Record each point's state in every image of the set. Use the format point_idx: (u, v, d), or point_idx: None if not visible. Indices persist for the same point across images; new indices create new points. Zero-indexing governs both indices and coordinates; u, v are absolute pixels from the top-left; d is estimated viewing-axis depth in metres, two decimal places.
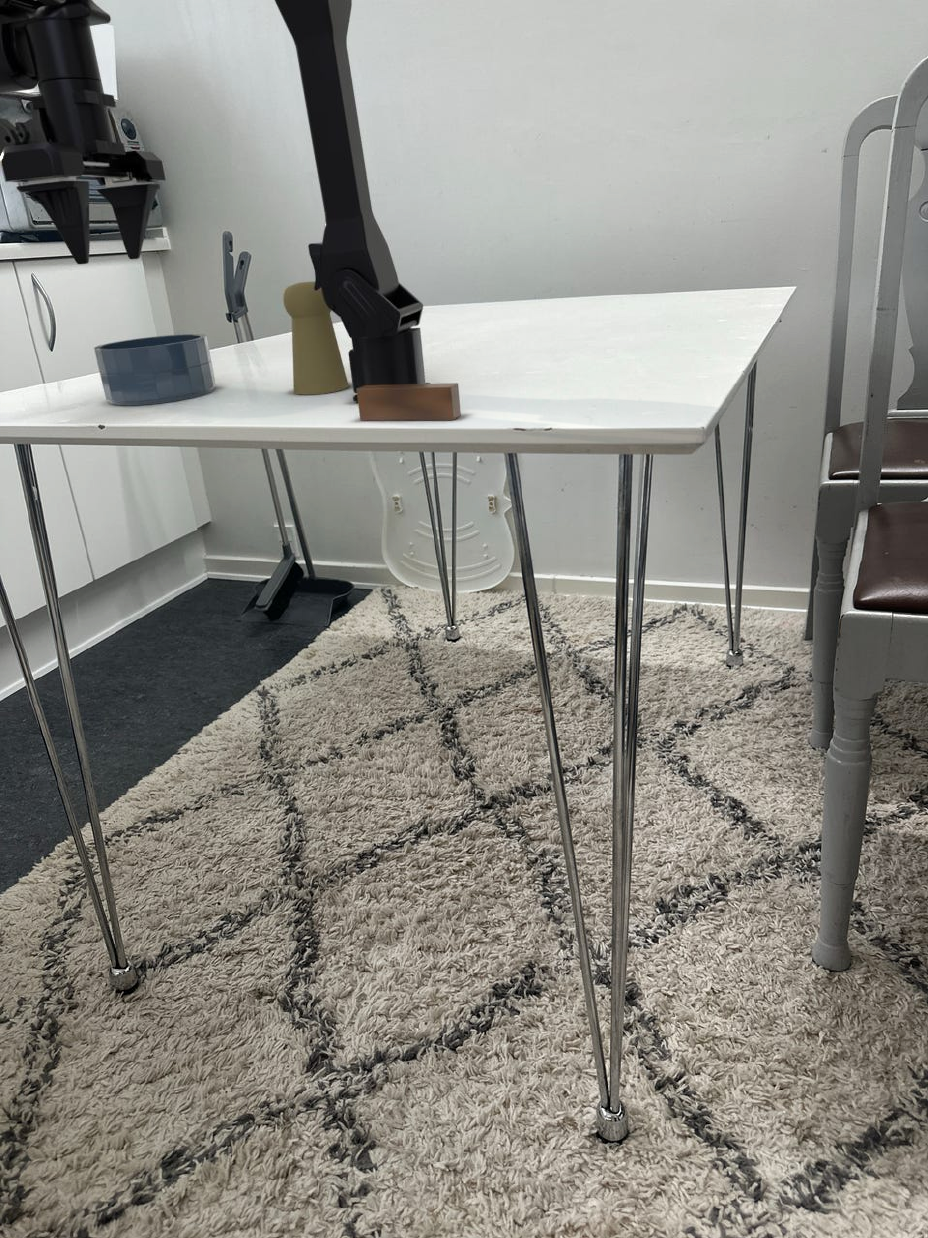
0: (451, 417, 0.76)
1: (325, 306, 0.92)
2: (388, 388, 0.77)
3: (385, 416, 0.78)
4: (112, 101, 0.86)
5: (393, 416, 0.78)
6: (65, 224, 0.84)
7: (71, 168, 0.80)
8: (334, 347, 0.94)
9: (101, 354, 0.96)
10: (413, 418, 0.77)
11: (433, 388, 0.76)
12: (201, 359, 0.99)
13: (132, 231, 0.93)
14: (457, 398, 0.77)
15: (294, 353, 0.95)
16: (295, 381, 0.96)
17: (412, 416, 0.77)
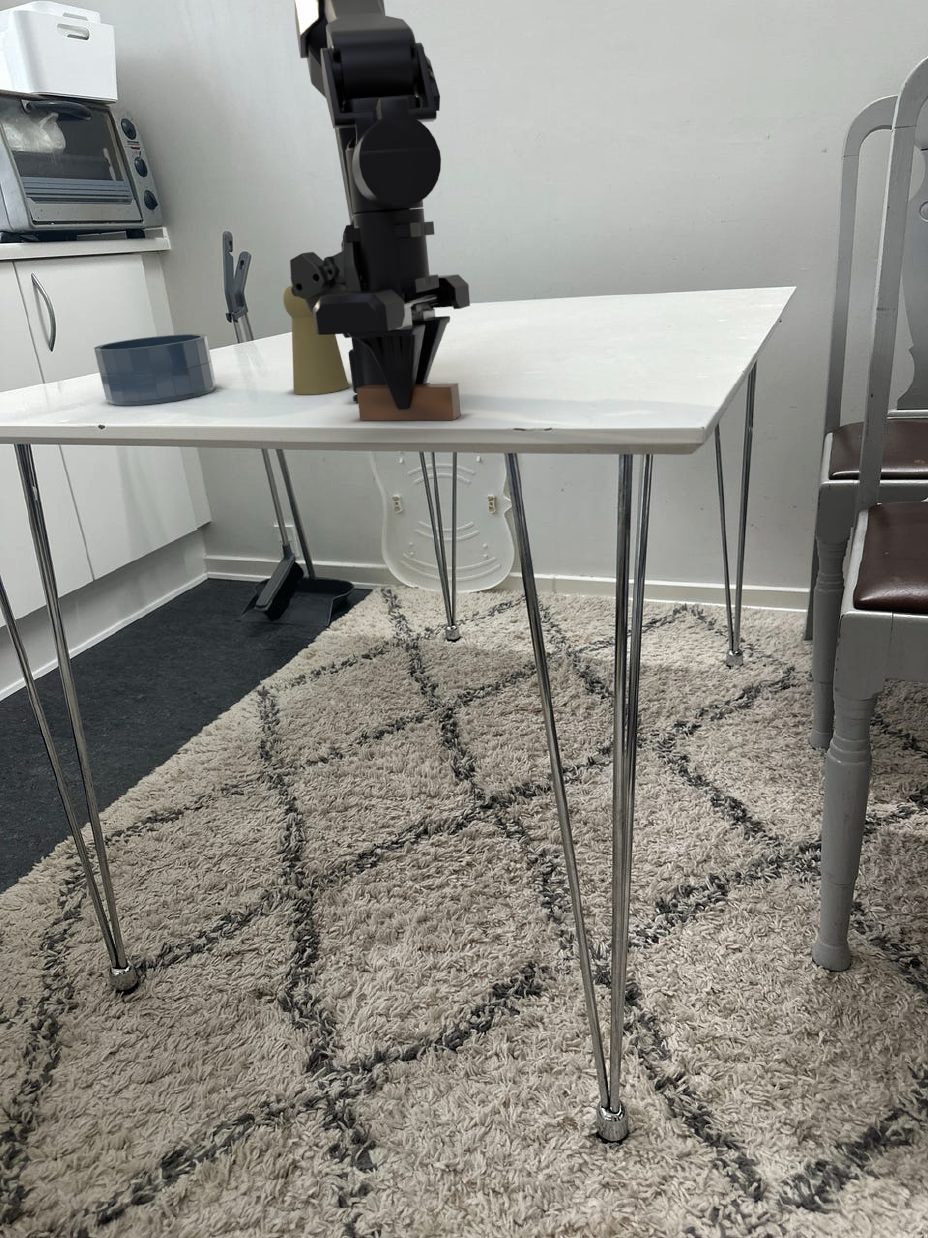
0: (451, 417, 0.76)
1: None
2: (388, 388, 0.77)
3: (385, 416, 0.78)
4: (432, 228, 0.73)
5: (393, 416, 0.78)
6: (392, 369, 0.75)
7: (394, 321, 0.67)
8: (334, 347, 0.94)
9: (101, 354, 0.96)
10: (413, 418, 0.77)
11: (433, 388, 0.76)
12: (201, 359, 0.99)
13: None
14: (457, 398, 0.77)
15: (294, 353, 0.95)
16: (295, 381, 0.96)
17: (412, 416, 0.77)
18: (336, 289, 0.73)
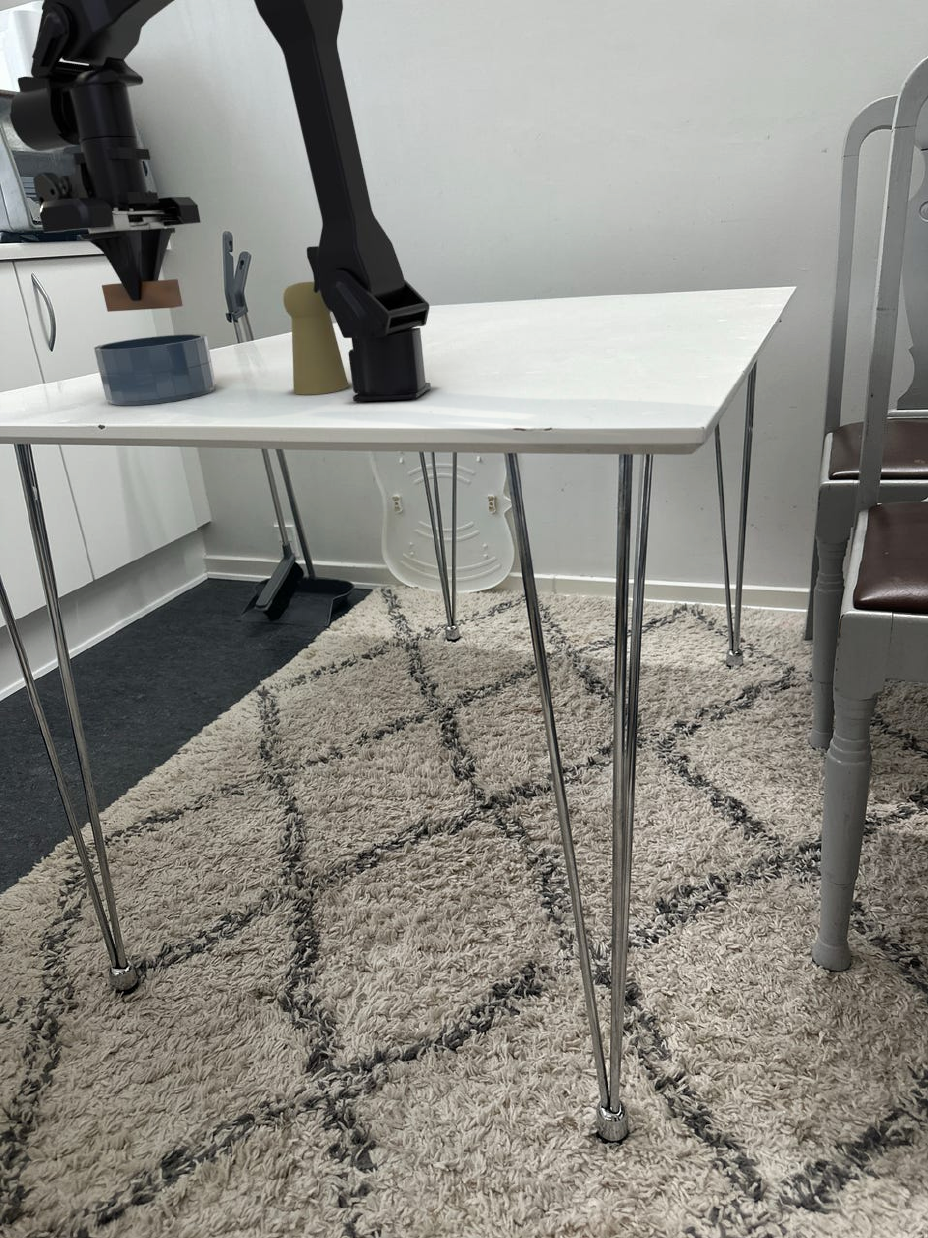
0: (171, 305, 0.96)
1: (325, 306, 0.92)
2: None
3: (124, 307, 0.99)
4: (146, 154, 0.93)
5: (130, 306, 0.98)
6: (121, 266, 0.95)
7: (99, 220, 0.88)
8: (334, 347, 0.94)
9: (101, 354, 0.96)
10: (144, 307, 0.98)
11: (155, 282, 0.96)
12: (201, 359, 0.99)
13: (147, 273, 0.98)
14: (177, 291, 0.97)
15: (294, 353, 0.95)
16: (295, 381, 0.96)
17: (143, 306, 0.98)
18: None
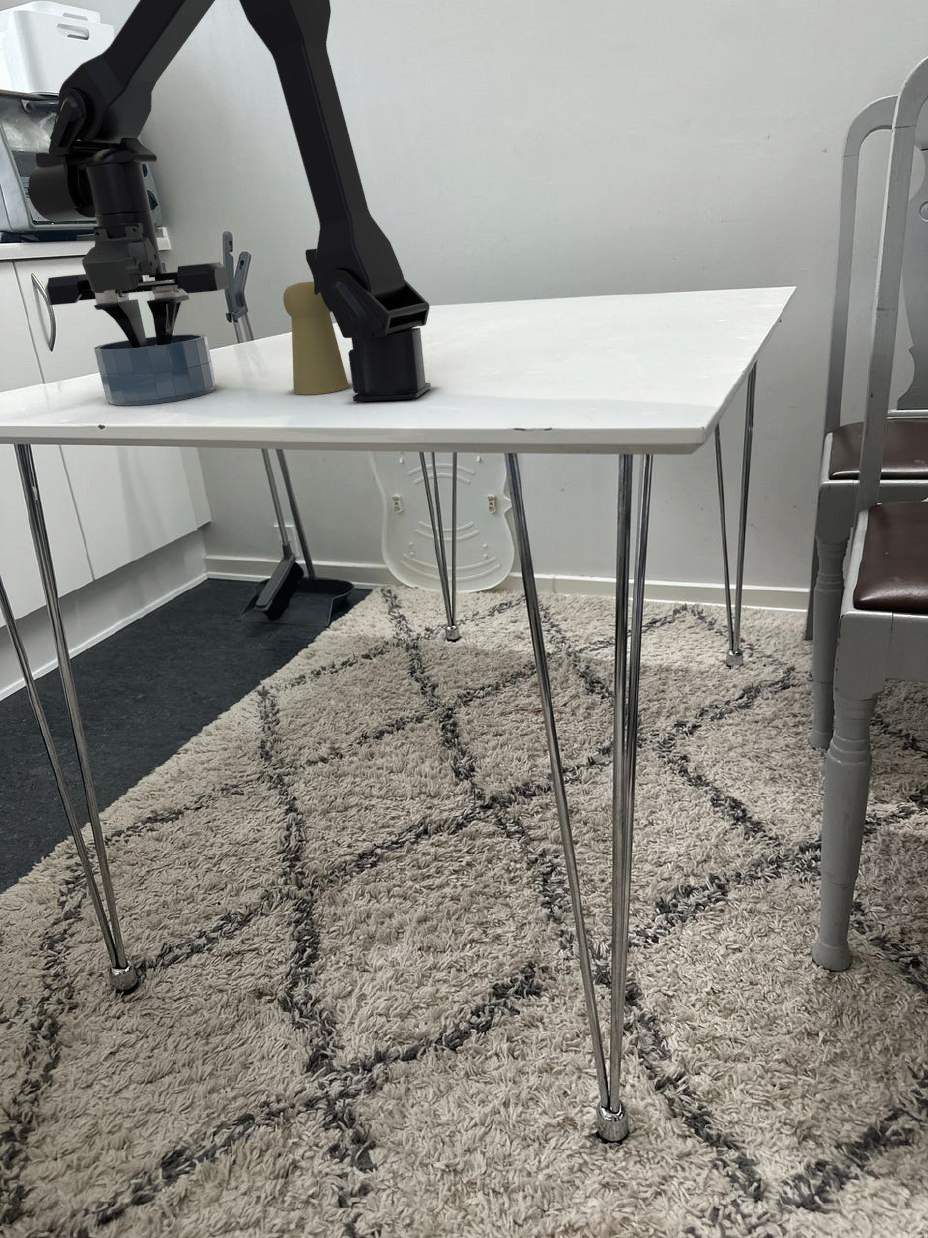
0: None
1: (325, 306, 0.92)
2: None
3: None
4: None
5: None
6: (168, 330, 1.00)
7: None
8: (334, 347, 0.94)
9: (101, 354, 0.96)
10: None
11: None
12: (201, 359, 0.99)
13: (143, 340, 1.01)
14: None
15: (294, 353, 0.95)
16: (295, 381, 0.96)
17: None
18: None
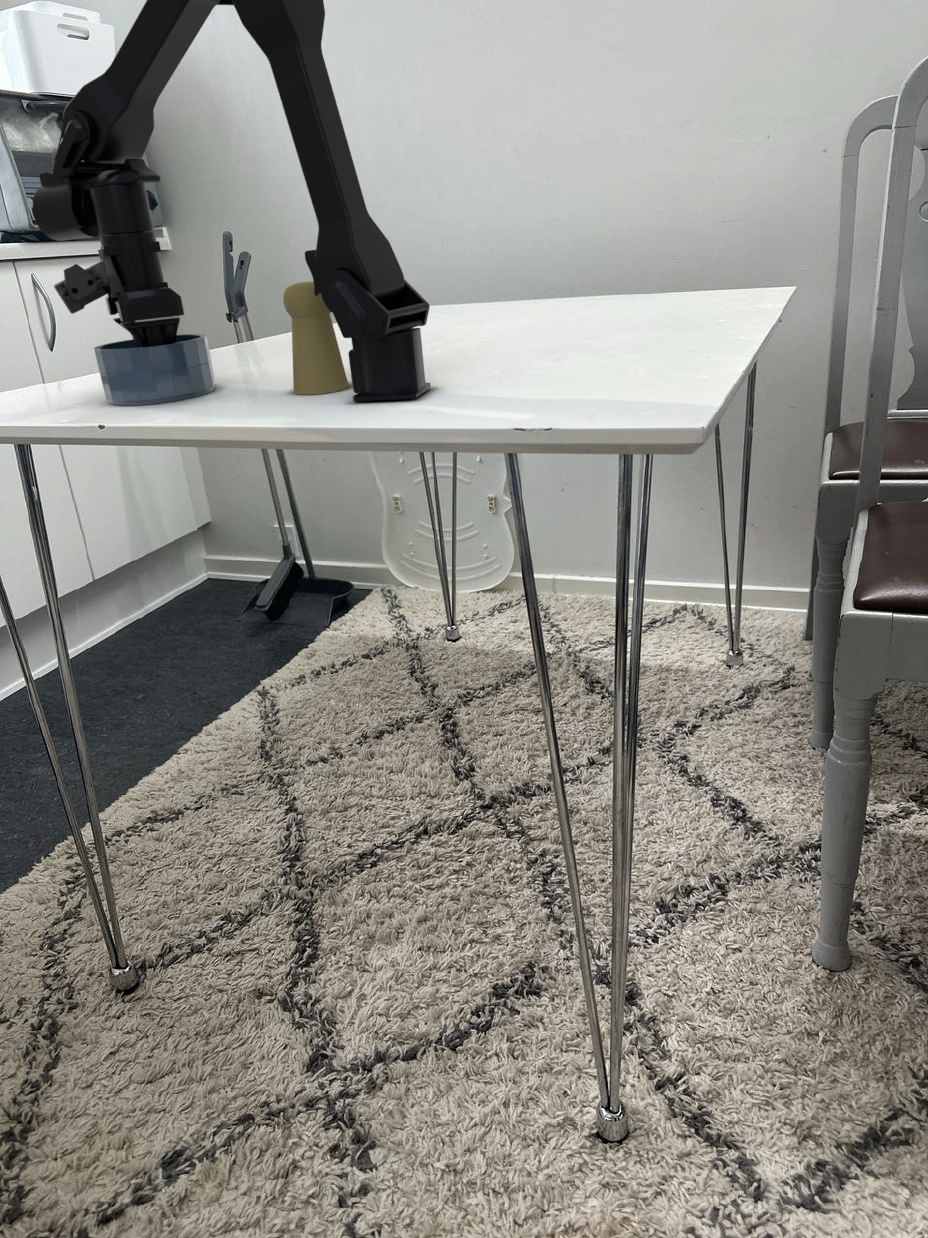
0: None
1: (325, 306, 0.92)
2: None
3: None
4: None
5: None
6: None
7: None
8: (334, 347, 0.94)
9: (101, 354, 0.96)
10: None
11: None
12: (201, 359, 0.99)
13: None
14: None
15: (294, 353, 0.95)
16: (295, 381, 0.96)
17: None
18: (99, 292, 0.95)
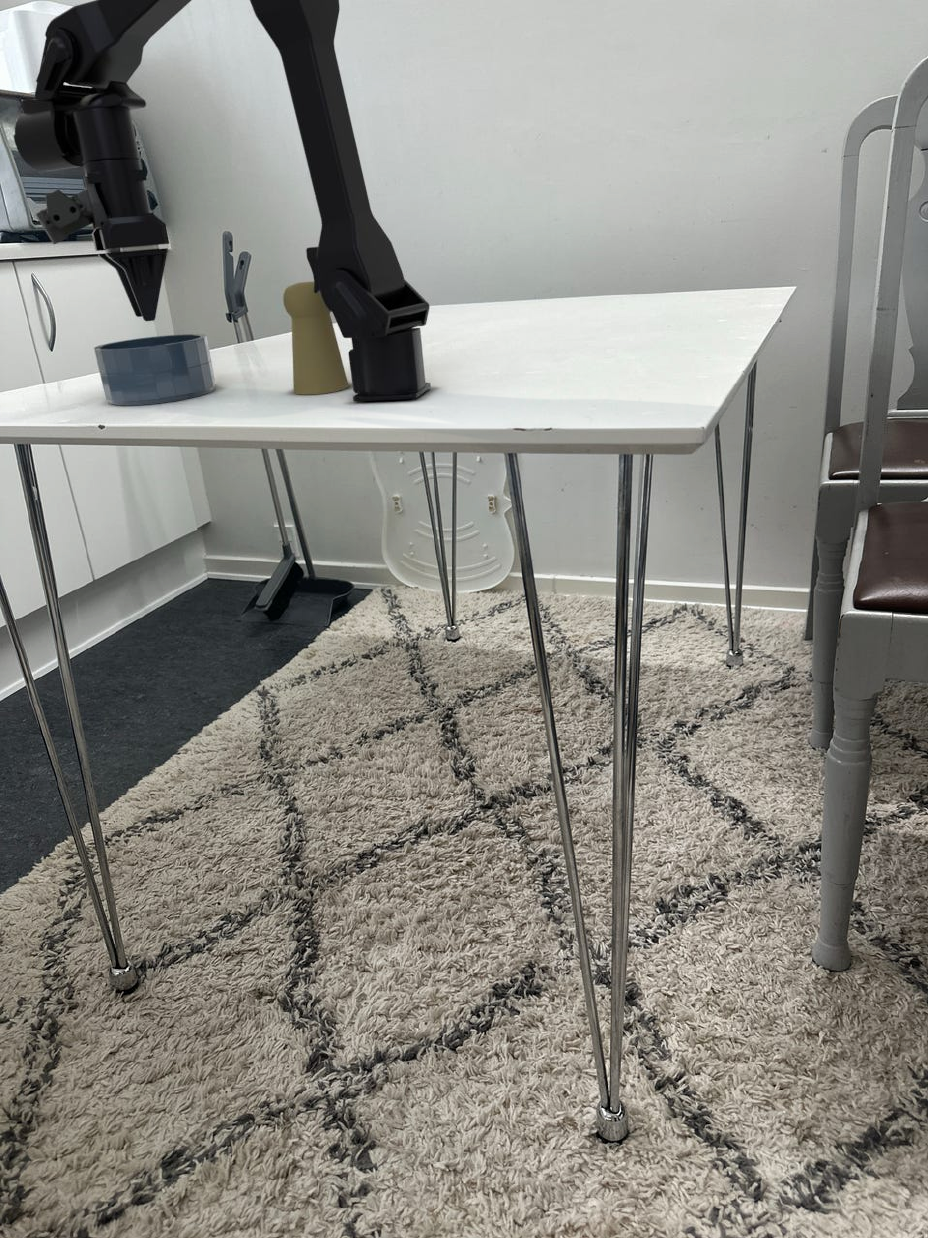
0: None
1: (325, 306, 0.92)
2: None
3: None
4: None
5: None
6: (142, 286, 0.93)
7: None
8: (334, 347, 0.94)
9: (101, 354, 0.96)
10: None
11: None
12: (201, 359, 0.99)
13: None
14: None
15: (294, 353, 0.95)
16: (295, 381, 0.96)
17: None
18: (82, 221, 0.92)
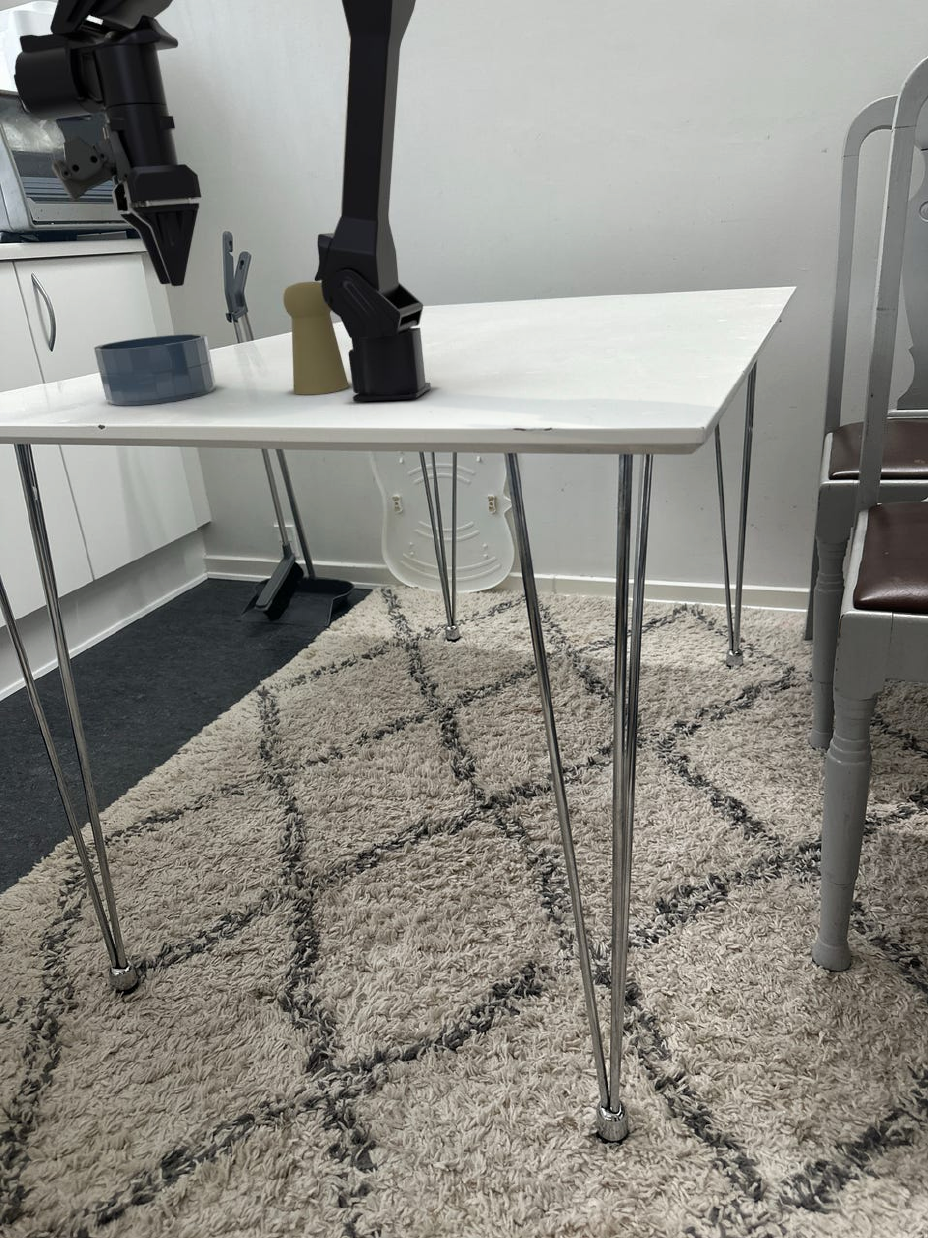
0: None
1: (325, 306, 0.92)
2: None
3: None
4: None
5: None
6: (170, 246, 0.84)
7: None
8: (334, 347, 0.94)
9: (101, 354, 0.96)
10: None
11: None
12: (201, 359, 0.99)
13: None
14: None
15: (294, 353, 0.95)
16: (295, 381, 0.96)
17: None
18: (104, 174, 0.82)
